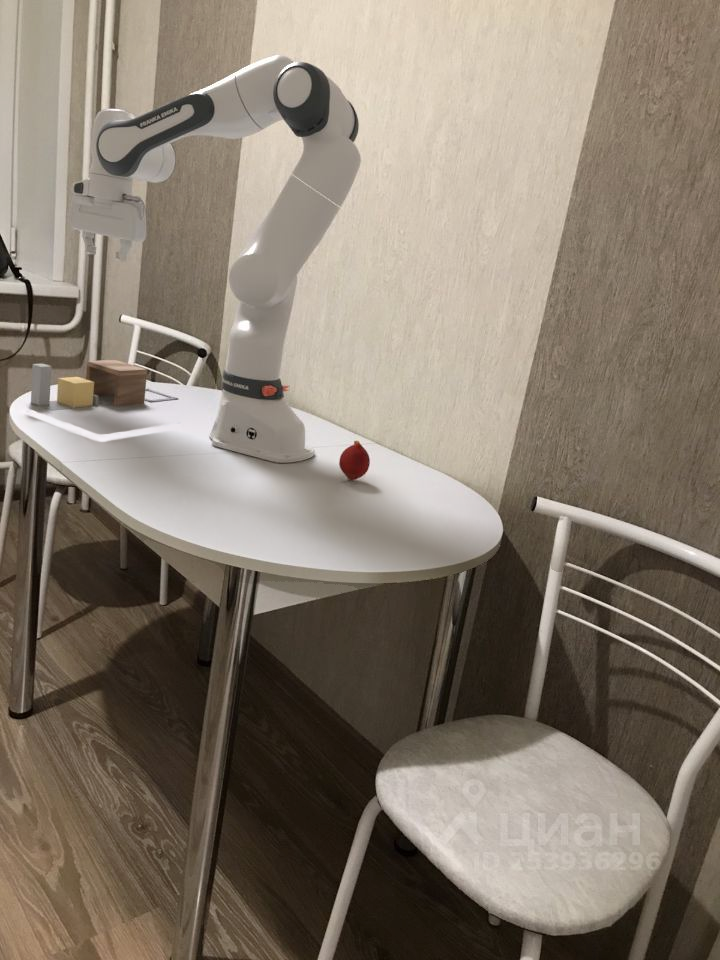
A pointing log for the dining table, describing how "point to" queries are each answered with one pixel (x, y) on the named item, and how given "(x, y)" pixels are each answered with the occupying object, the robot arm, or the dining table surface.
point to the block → (75, 391)
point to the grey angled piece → (42, 389)
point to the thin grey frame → (160, 394)
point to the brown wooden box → (118, 381)
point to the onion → (354, 461)
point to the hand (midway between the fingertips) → (105, 257)
